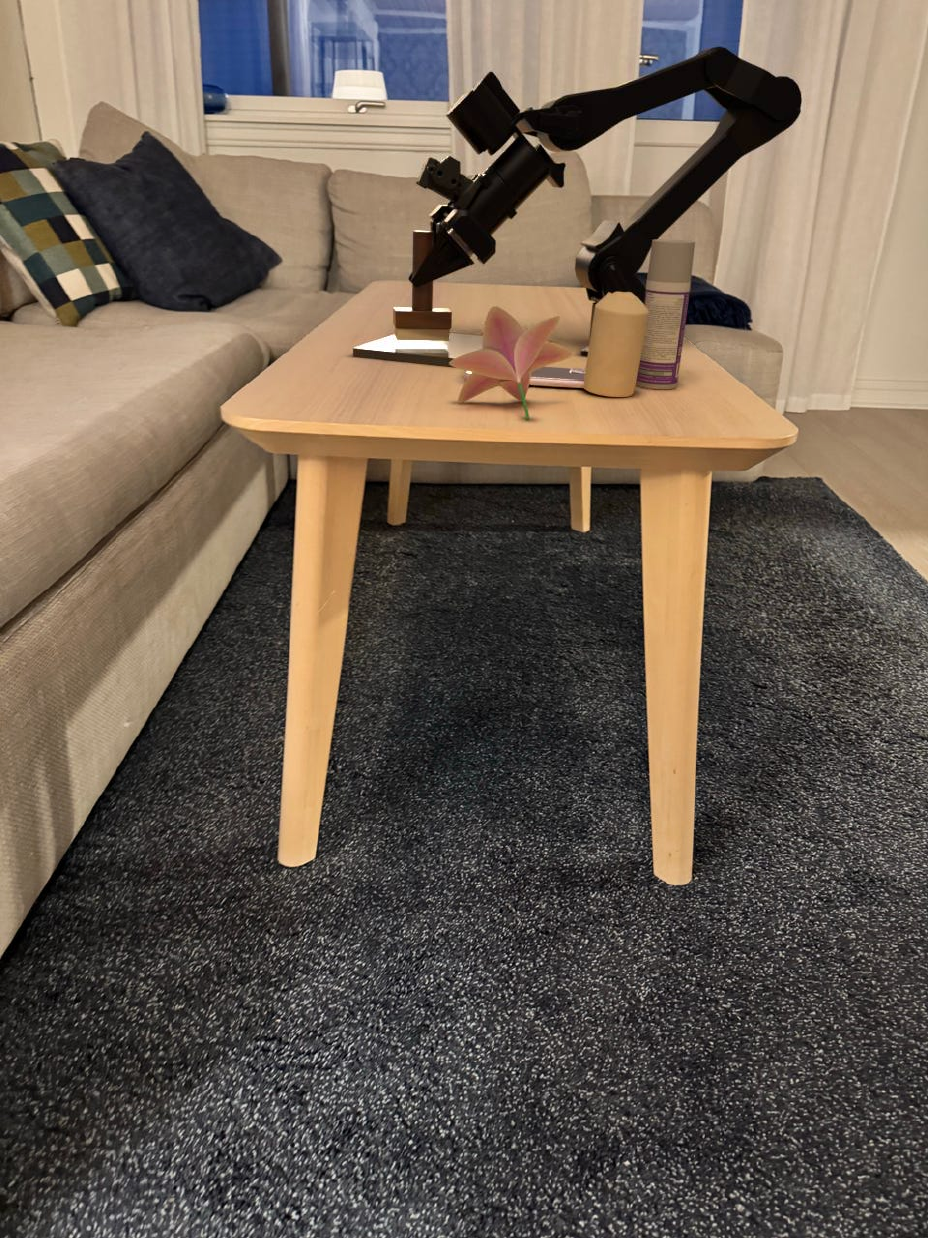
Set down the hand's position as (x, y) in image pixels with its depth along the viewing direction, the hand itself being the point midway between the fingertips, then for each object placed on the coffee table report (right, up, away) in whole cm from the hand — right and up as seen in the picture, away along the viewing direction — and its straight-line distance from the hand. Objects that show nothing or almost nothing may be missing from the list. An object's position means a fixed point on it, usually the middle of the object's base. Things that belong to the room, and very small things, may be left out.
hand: (411, 283), depth 112 cm
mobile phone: (+14, -15, -10) cm, 22 cm away
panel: (+3, -7, +5) cm, 9 cm away
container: (+28, -15, -10) cm, 33 cm away
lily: (+11, -21, -23) cm, 33 cm away
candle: (+22, -17, -14) cm, 31 cm away
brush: (+1, -6, +3) cm, 7 cm away
